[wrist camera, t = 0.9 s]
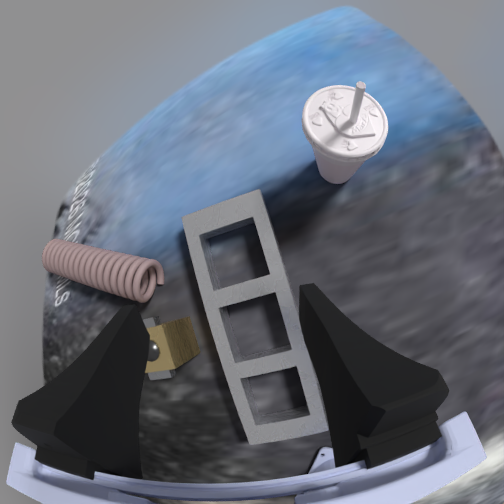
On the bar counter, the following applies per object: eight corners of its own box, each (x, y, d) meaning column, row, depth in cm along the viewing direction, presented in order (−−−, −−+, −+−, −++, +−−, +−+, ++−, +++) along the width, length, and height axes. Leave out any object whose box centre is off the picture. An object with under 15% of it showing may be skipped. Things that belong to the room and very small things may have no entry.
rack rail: (327, 418, 25) (328, 430, 22) (254, 433, 26) (249, 444, 23) (263, 196, 28) (259, 188, 26) (191, 221, 29) (181, 217, 27)
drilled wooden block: (202, 359, 28) (177, 377, 22) (170, 365, 28) (141, 381, 22) (187, 309, 29) (158, 316, 23) (156, 317, 29) (123, 324, 23)
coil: (148, 256, 25) (43, 234, 29) (138, 304, 25) (36, 268, 28) (169, 263, 30) (66, 241, 34) (161, 305, 29) (59, 273, 33)
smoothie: (345, 209, 26) (378, 146, 13) (292, 174, 28) (276, 90, 14) (376, 161, 26) (418, 78, 12) (325, 129, 27) (329, 34, 14)
